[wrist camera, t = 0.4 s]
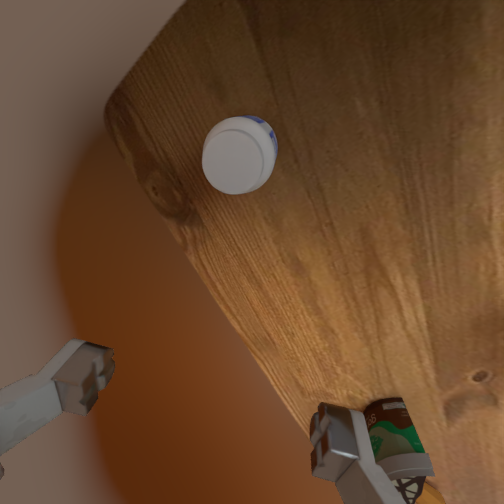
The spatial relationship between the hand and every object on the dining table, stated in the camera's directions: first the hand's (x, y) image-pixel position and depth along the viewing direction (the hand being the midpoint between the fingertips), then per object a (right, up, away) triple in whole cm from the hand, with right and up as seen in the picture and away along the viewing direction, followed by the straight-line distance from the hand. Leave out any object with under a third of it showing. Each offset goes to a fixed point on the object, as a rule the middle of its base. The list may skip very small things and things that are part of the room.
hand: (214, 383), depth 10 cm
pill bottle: (+1, +15, +15) cm, 22 cm away
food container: (+21, -21, +32) cm, 43 cm away
